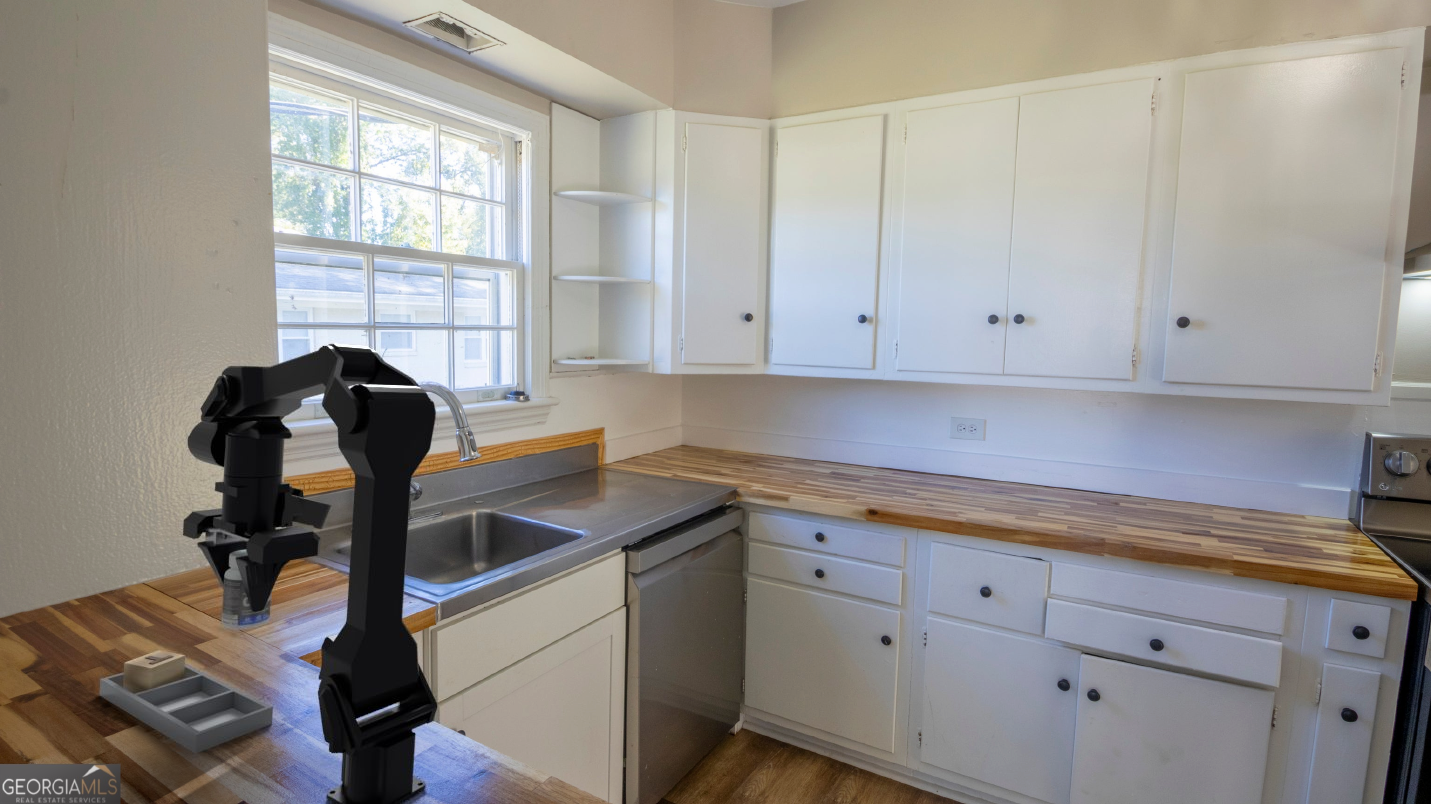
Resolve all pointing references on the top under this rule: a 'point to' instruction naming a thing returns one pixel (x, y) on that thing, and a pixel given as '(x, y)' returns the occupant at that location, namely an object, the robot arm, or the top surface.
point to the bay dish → (191, 709)
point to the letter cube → (153, 671)
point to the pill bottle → (239, 600)
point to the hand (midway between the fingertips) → (246, 606)
